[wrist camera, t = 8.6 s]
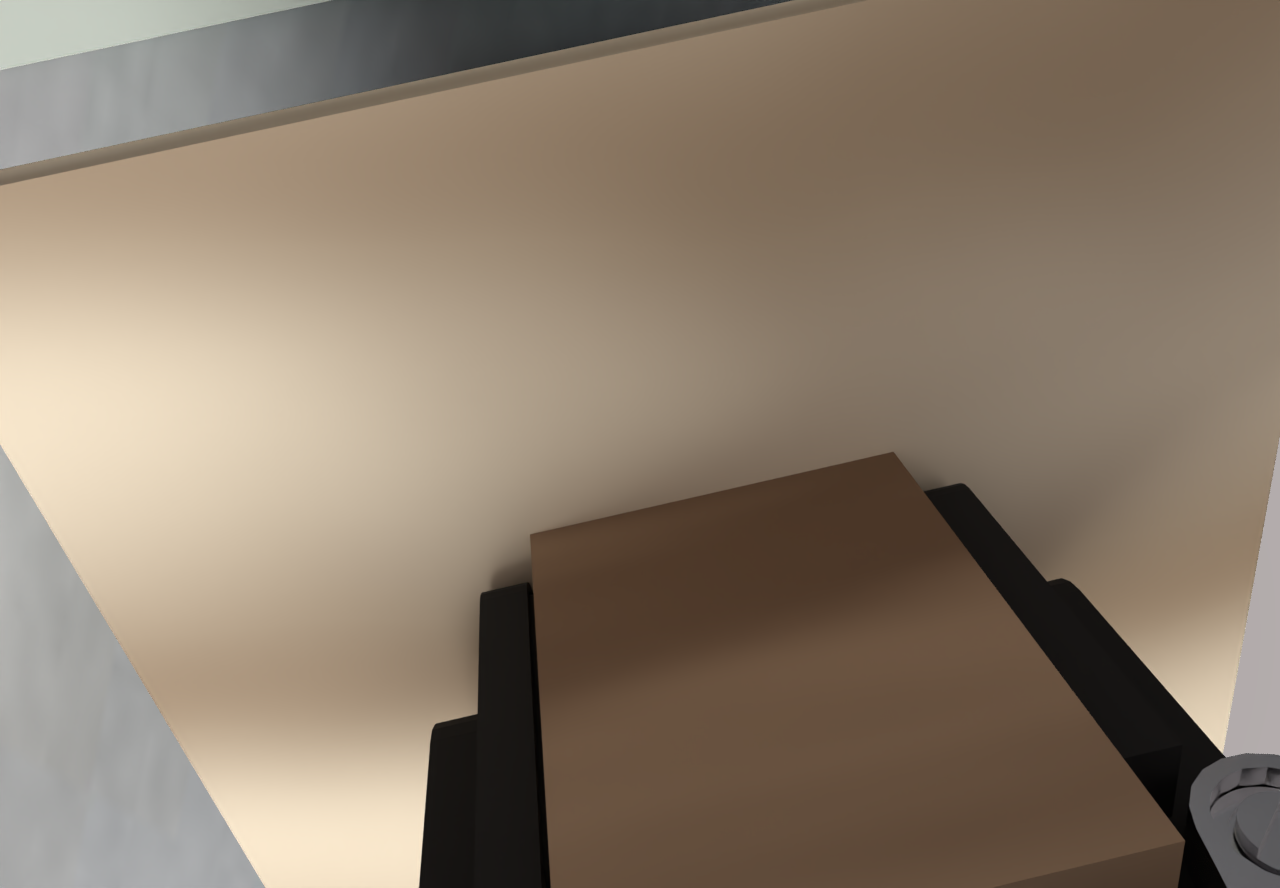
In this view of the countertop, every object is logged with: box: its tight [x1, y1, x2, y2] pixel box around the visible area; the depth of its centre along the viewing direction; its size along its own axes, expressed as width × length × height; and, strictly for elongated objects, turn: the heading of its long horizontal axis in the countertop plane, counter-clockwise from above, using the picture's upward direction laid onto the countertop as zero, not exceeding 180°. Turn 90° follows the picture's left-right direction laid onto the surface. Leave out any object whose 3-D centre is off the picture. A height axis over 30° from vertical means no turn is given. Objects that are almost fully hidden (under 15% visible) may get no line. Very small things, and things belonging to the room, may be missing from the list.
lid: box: [0, 0, 1280, 888], centre depth 9 cm, size 13×13×6 cm
